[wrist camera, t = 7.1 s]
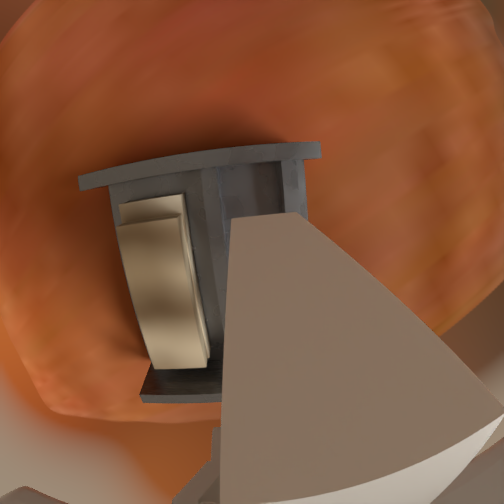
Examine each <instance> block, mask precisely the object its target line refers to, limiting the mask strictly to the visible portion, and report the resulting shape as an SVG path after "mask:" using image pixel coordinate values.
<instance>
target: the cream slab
mask: <svg viewBox="0 0 504 504" xmlns="http://www.w3.org/2000/svg"><path fill="white" fill-rule="evenodd" d="M503 417H504V407H503V405H502V404H501V403H500V402H499V401H498V400H497V398H496V397H495V396H494V395H493V394H492V393H491V392H490V391H489V390H488V388H487V387H486V386H485V385H484V384H483V383H482V382H481V381H480V380H479V378H478V377H476V375H475V374H474V373H473V372H472V371H471V370H470V369H469V368H468V367H467V366H466V365H465V364H464V362H463V361H461V359H460V358H459V357H458V356H457V355H456V354H455V353H454V352H453V351H452V350H451V349H450V348H449V347H448V346H447V345H446V344H445V343H444V342H443V341H442V340H441V339H440V338H439V337H438V336H437V335H436V334H435V333H434V332H433V331H432V330H431V329H430V328H429V327H428V326H427V325H426V324H425V323H424V322H423V321H421V320H420V319H419V318H418V317H417V316H416V315H415V314H414V313H413V312H412V311H411V310H410V309H409V308H408V307H407V306H406V305H405V304H403V303H402V302H401V301H400V300H399V299H398V298H397V297H396V296H395V295H394V294H393V293H391V292H390V291H389V290H388V289H387V288H386V287H385V286H384V285H383V284H381V283H380V282H379V281H378V280H377V279H376V278H375V277H374V276H372V275H371V274H370V273H369V272H368V271H367V270H366V269H364V268H363V267H362V266H361V265H360V264H359V263H358V262H356V261H355V260H354V259H353V258H352V257H351V256H349V255H348V254H347V253H346V252H345V251H343V250H342V249H341V248H340V247H339V246H338V245H336V244H335V243H334V242H333V241H332V240H330V239H329V238H328V237H327V236H325V235H324V234H323V233H322V232H321V231H319V230H318V229H317V228H316V227H314V226H313V225H312V224H311V223H309V222H308V221H307V220H306V219H304V218H303V217H302V216H301V215H299V214H298V213H297V212H290V213H279V214H269V215H259V216H250V217H241V218H232V219H231V231H230V246H229V261H228V278H227V295H226V313H225V333H224V355H223V380H222V409H221V449H220V504H430V503H431V502H432V501H433V500H434V499H435V498H436V497H437V496H438V495H440V494H441V493H442V492H443V491H444V490H445V489H446V488H447V487H448V486H449V485H450V484H451V483H452V481H453V480H454V479H455V478H456V477H457V476H458V475H459V474H460V473H461V472H462V471H463V470H464V468H465V467H466V466H467V465H468V464H469V463H470V461H471V460H472V459H473V458H474V457H475V455H476V454H477V453H478V451H479V450H480V449H481V448H482V447H483V445H484V444H485V443H486V441H487V440H488V439H489V437H490V436H491V434H492V433H493V432H494V430H495V429H496V427H497V426H498V424H499V423H500V422H501V420H502V419H503Z"/></svg>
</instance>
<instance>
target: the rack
mask: <svg viewBox="0 0 504 504" xmlns="http://www.w3.org/2000/svg"><path fill="white" fill-rule="evenodd" d="M317 158H322V157H321V146H320V141H317V142H292V143H275V144H261V145H250V146H239V147H230V148H221V149H213V150H205V151H198V152H191V153H185V154H178V155H172V156H166V157H161V158H155V159H150V160H145V161H140V162H135V163H130V164H125V165H121V166H116V167H112V168H108V169H104V170H99V171H95V172H92V173H88V174H84V175H80V176H78V182H79V189H80V191H84V190H89V189H94V188H100V187H105V186H109V194H110V200H111V207H112V213H113V219H114V224H115V230H116V227H117V226H119V225H120V224H122V221H121V216H120V209H119V204H122V203H125V202H128V201H134V200H140V199H145V198H152V197H158V196H164V195H171V194H177V193H184V192H185V199H186V207H187V214H188V221H189V228H190V235H191V242H192V248H193V254H194V260H195V266H196V272H197V278H198V284H199V289H200V295H201V300H202V306H203V311H204V316H205V321H206V326H207V331H208V336H209V341H210V346H211V349H210V358H207V366H206V367H204V368H184V369H154V366H153V364H152V361H151V364H150V367H149V370H148V372H147V375H146V378H145V380H144V383H143V386H142V389H141V391H140V394H139V395H140V397H141V399H142V401H143V403H208V402H222V380H223V355H224V333H225V313H226V295H227V278H228V261H229V246H230V231H231V219H232V218H241V217H250V216H259V215H269V214H279V213H290V212H297V213H298V214H299V215H301V216H302V217H303V218H304V219H306V220H307V221H308V214H307V198H306V184H305V171H304V160H308V159H317ZM116 235H117V230H116ZM117 240H118V235H117ZM118 245H119V240H118ZM119 250H120V245H119ZM120 255H121V250H120ZM121 259H122V255H121ZM122 264H123V259H122ZM123 268H124V264H123ZM124 272H125V268H124ZM125 276H126V272H125ZM126 280H127V277H126ZM127 284H128V281H127ZM128 288H129V285H128ZM129 292H130V288H129ZM130 296H131V292H130ZM131 299H132V296H131ZM132 303H133V300H132ZM133 307H134V303H133ZM134 310H135V307H134ZM135 314H136V311H135ZM136 317H137V314H136ZM137 320H138V317H137ZM138 324H139V321H138ZM139 327H140V324H139ZM140 330H141V327H140ZM141 333H142V331H141ZM142 337H143V334H142ZM143 340H144V337H143ZM144 343H145V340H144ZM145 346H146V343H145ZM146 349H147V346H146ZM147 352H148V349H147ZM148 355H149V352H148ZM149 357H150V355H149ZM150 360H151V358H150Z"/></svg>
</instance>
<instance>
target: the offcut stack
mask: <svg viewBox="0 0 504 504" xmlns="http://www.w3.org/2000/svg"><path fill="white" fill-rule="evenodd" d="M119 209H120V216H121V221H122V224H120V225H119V226H117V227H116V230H117V235H118V240H119V245H120V250H121V255H122V259H123V264H124V268H125V272H126V277H127V281H128V285H129V288H130V292H131V296H132V300H133V303H134V307H135V311H136V314H137V317H138V321H139V324H140V327H141V331H142V334H143V337H144V340H145V343H146V346H147V349H148V352H149V355H150V358H151V361H152V364H153V366H154V369H184V368H204V367H206V366H207V358H210V349H211V346H210V341H209V336H208V331H207V326H206V321H205V316H204V311H203V306H202V300H201V295H200V289H199V284H198V278H197V272H196V266H195V260H194V254H193V248H192V242H191V235H190V228H189V221H188V214H187V207H186V199H185V192H184V193H177V194H171V195H164V196H158V197H152V198H145V199H140V200H134V201H128V202H125V203H122V204H119Z"/></svg>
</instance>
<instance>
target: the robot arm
mask: <svg viewBox="0 0 504 504" xmlns="http://www.w3.org/2000/svg"><path fill="white" fill-rule="evenodd" d="M220 449H221V427H214V428H213V432H212V451H211V461H207V462H206V463H205V464H204V466H203V467H202V468H201V469H200V470H199V471H198V472H197V474H196V475H195V476H194V477H193V478H192V479H191V480H190V481H189V482H188V483H187V485H186V486H185V487H184V488H183V489H182V490H181V491H180V492H179V493H178V494H177V495H176V496H175V497H174V498H173V500H172V504H220ZM0 504H68V503H65V502H63V501H60V500H57V499H55V498H53V497H50V496H48V495H46V494H43V493H41V492H39V491H37V490H35V489H33V488H30V487H27V486H23V487H20V488H17V489H15V490H13V491H11V492H9V493H7V494H5V495H3V496H2V497H1V498H0ZM430 504H504V437H503V438H502V439H500V440H499V441H498V442H496V443H495V444H494V445H492V446H491V447H490V448H489V449H487V450H485V451H484V452H482V453H481V454H479V455H478V456H476V457H475V458H473V459H472V460H471V461H470V463H469V464H468V465H467V466H466V467H465V468H464V470H463V471H462V472H461V473H460V474H459V475H458V476H457V477H456V478H455V479H454V480H453V481H452V483H451V484H450V485H449V486H448V487H447V488H446V489H445V490H444V491H443V492H442V493H441V494H440V495H438V496H437V497H436V498H435V499H434V500H433V501H432V502H431V503H430Z"/></svg>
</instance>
